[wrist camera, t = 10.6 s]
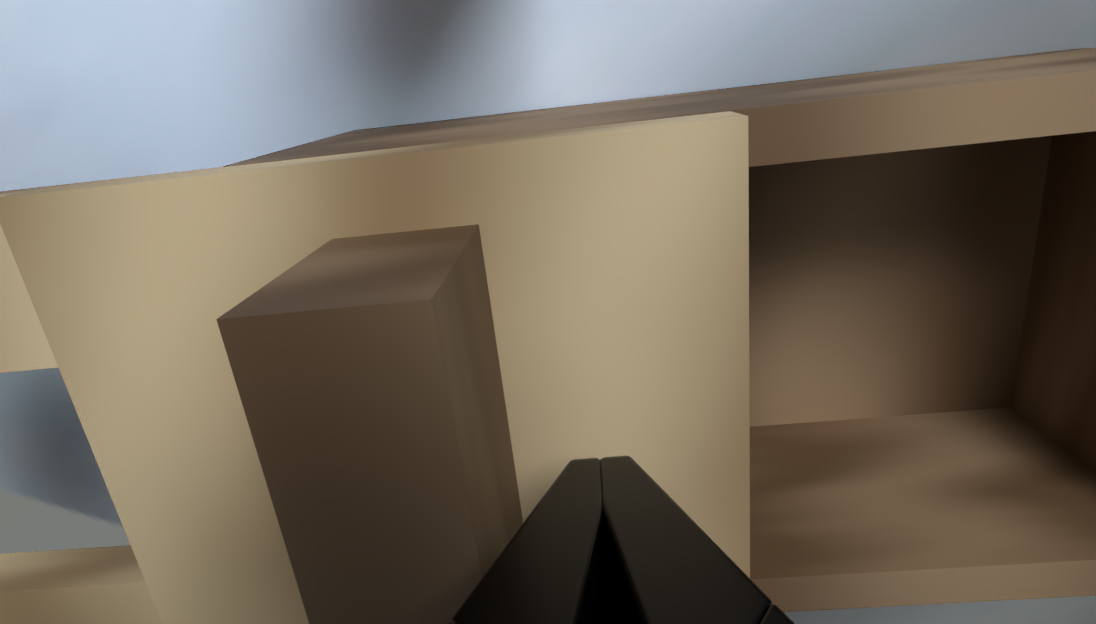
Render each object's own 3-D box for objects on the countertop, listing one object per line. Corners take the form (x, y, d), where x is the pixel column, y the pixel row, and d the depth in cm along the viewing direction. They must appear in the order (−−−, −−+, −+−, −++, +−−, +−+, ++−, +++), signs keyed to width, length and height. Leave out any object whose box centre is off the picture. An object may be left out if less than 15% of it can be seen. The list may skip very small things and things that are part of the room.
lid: (729, 111, 9) (841, 140, 5) (736, 618, 12) (810, 867, 8) (-315, 226, 10) (-837, 319, 6) (-65, 660, 13) (-319, 895, 9)
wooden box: (1077, 48, 14) (1415, 34, 8) (1019, 417, 17) (1238, 588, 11) (353, 130, 15) (223, 166, 10) (421, 460, 18) (353, 634, 13)
